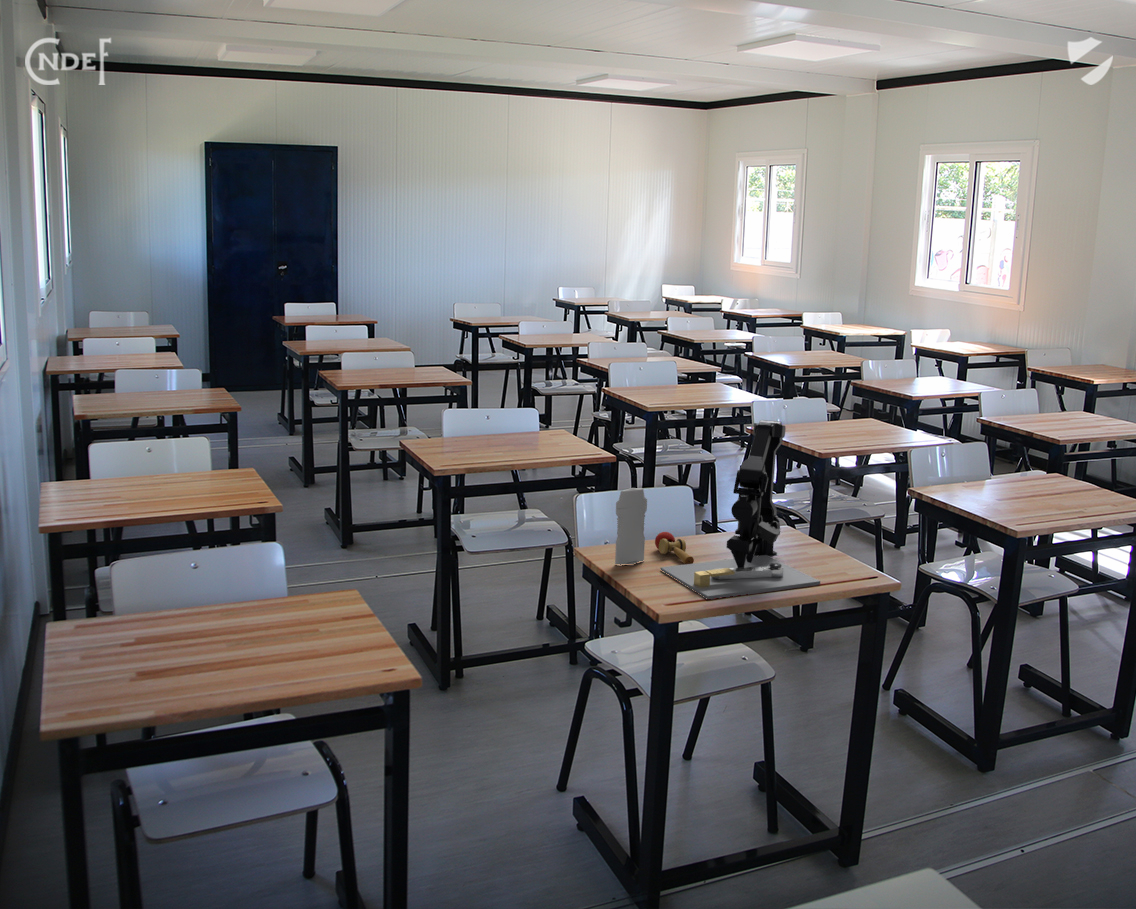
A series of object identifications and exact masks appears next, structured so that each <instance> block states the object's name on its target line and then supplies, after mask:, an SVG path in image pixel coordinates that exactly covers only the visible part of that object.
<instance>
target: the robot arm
mask: <svg viewBox="0 0 1136 909" xmlns="http://www.w3.org/2000/svg"><path fill="white" fill-rule="evenodd" d="M752 430H753V431H752V436H754V437H753V441H752V444H751V448H750V451H749V454H748V458H746V459H744V461H742V462H741V465H740V467H739V469H738V470H737V471H736V475H735V482H734V485H733V486H734V488H733V492H732V493H733V494H736V495H738V498H737V500H736V501H735V502H734V503H733V504H732V505H731V506H732V507H731V516H733V518H734V519H735V520H736V521H737V529H736V530H734V531H735V532H734V534H735V535H733V536H731V537H730V538H729V539H727V540H726V549H728V550H730V552H731V554H732V557H733V559H735V562H736V564H737V567H738V568H744V565H745V561H746V559H747V562H749V563H751V562H752V559H753V557H754V556H762V555H767V556H773V555H777V554H778V552H777V551H775V550H774V543H775V542H776V541H777V539H778V537H779V536H780V535H781V522H780V520H779V516H778V515H777V512H778V510H777V507H776V505H775V503H774V500H773V495H774V494H773V492H774V481H775V470H776V469H775V468H776V455H777V450H778V449H779V447H781V445H782V444H783V439H784V438H785V435H786V430H787V429H786V425H783V422H782V421H779V420H765V419H760V420H759V422H757V423H756V422H755V423H753V429H752ZM739 486H740V487H739Z"/></svg>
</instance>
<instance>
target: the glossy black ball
mask: <svg viewBox="0 0 1136 909" xmlns="http://www.w3.org/2000/svg"><path fill="white" fill-rule="evenodd" d="M769 566H770V567H772V568H775V569H777V568H781V566H782V565H781V564H778V563H770V565H769Z"/></svg>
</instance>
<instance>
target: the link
mask: <svg viewBox="0 0 1136 909" xmlns="http://www.w3.org/2000/svg"><path fill="white" fill-rule="evenodd" d="M722 569H723V568H722ZM730 569H731V570H733V571H735V574H731V575H723V576H715V577H712V578H713V579H740V578H762V577H774V578H780V577H783V571H784V568H783V567H781V568H777V569H775V568H772V567H770V566H768V567H746V568H730ZM712 570H715V569H712Z"/></svg>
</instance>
